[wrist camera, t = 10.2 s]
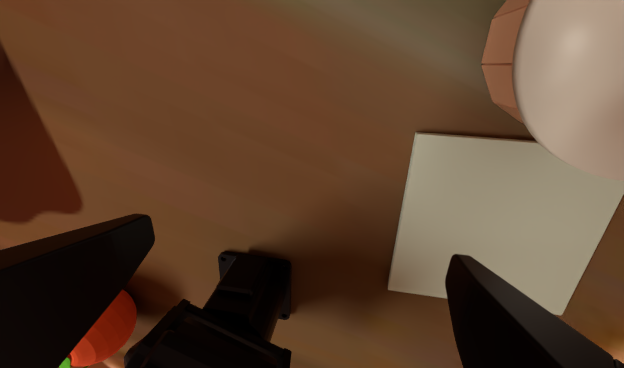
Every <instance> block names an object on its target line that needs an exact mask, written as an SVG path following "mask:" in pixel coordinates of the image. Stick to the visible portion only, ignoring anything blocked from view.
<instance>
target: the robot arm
mask: <svg viewBox="0 0 624 368" xmlns="http://www.w3.org/2000/svg"><path fill="white" fill-rule="evenodd" d="M154 241H155V235H154V231H153V226H152V221H151V218H150V217H149V216H148V215H144V214H132V215H128V216H124V217H121V218H117V219H113V220H110V221H106V222H102V223H98V224H95V225H91V226H87V227H84V228H80V229H76V230H73V231H69V232H65V233H61V234H58V235H54V236H50V237H47V238H43V239H39V240H36V241H32V242H28V243H24V244H21V245H17V246H13V247H10V248H6V249H2V250H0V368H58V367H59V366H60V365H61V364H62V362H63V361H64V360H65V359H66V358H67V356H68V355H69V354H70V353H71V352H72V350H73V349H74V348H75V347H76V345H77V344H78V343H79V342H80V341H81V339H82V338H83V337H84V336H85V335H86V333H87V332H88V331H89V330H90V328H91V327H92V326H93V325H94V324H95V322H96V321H97V320H98V319H99V318H100V316H101V315H102V314H103V313H104V311H105V310H106V309H107V308H108V307H109V305H110V304H111V303H112V302H113V301H114V299H115V298H116V297H117V296H118V295H119V293H120V292H121V291H122V289H123V288H124V287H125V286H126V284H127V283H128V281H129V280H130V279H131V277H132V276H133V274H134V273H135V271H136V270H137V268H138V267H139V265H140V264H141V262H142V261H143V260H144V258H145V257H146V255H147V254H148V252H149V251H150V249H151V248H152V246H153V244H154ZM223 257H225V258H226V259H225V258H223ZM218 262H219V272H220V281H219V283H218V285H217V286H216V289H215V290H214V292H213V293H212V295H211V296H210V298H209V299H208V301H207V303H206V304H205V306H204V307H203V309H201V308H199V307H197V306H194V305H192V304H190V301H187V300H185V299H183V300H182V301H181V302H180V303H179V304H178V305H177V306H174V307H173V308H172V309H171V310H170V311H168V313H167V314H166V315H165V316H164V317H163V318H162V320H161V321H160V322H159V323H158V324H157V325H156V326H155V327H154V328H153V329H152V330H151V331H150V332H149V333H148V334H147V335H146V336H145V337H144V338H143V339H141V340H140V341H139V342H138V343H136V344H135V345H134V346H132V347H131V348H130V349H129V350H128V352H127V353H126V355H125V356H124V367H125V368H290V360H291V351H290V350H288V349H286V348H284V349H282V348H280V347H278V346H276V345H274V344H272V343H270V341H271V338H272V335H273V332H274V329H275V326H276V323H277V320H278V319H283V320H287V319H289V317H290V312H291V263H290V262H289V261H287V260H281V259H274V258H267V257H260V256H252V255H245V254H238V253H231V252H221V254H220V255H219V256H218ZM283 265H285V266H287V267H284V266H283ZM445 288H446V293H447V299H448V304H449V310H450V315H451V321H452V326H453V332H454V336H455V341H456V344H457V348H458V352H459V355H460V358H461V361H462V365H463V368H624V364H623V363H622V362H620V361H619V360H617V359H614V360H613V357H612V355H610V354H609V353H607V352H606V351H605V350H603V349H602V348H600V347H599V346H597V345H596V344H595V343H593V342H592V341H590V340H589V339H588V338H586V337H585V336H583V335H582V334H580V333H579V332H578V331H576V330H575V329H573V328H572V327H571V326H569V325H568V324H566V323H565V322H563V321H562V320H561V319H559V318H558V317H556V316H555V315H553V314H552V313H551V312H549V311H548V310H546V309H545V308H544V307H542V306H541V305H539V304H538V303H536V302H535V301H534V300H532V299H531V298H529V297H528V296H527V295H525V294H524V293H522V292H521V291H519V290H518V289H517V288H515V287H514V286H512V285H511V284H509V283H508V282H507V281H505V280H504V279H502V278H501V277H500V276H498V275H497V274H495V273H494V272H492V271H491V270H490V269H488V268H487V267H485V266H484V265H483V264H481V263H480V262H478V261H477V260H475V259H474V258H473V257H471V256H469V255H462V254H454V255H452V257H451V260H450V263H449V267H448V270H447V274H446V278H445Z"/></svg>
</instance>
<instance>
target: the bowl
mask: <svg viewBox="0 0 624 368" xmlns="http://www.w3.org/2000/svg"><path fill="white" fill-rule="evenodd" d="M529 1H530V0H507V1H506V2H505V3H504V4H503V6H502V7H501V8H500V9H499V11H498V12H497V13H496V14H495V16H494V19H492V22H491V26H490V30H489V34H488V38H487V42H486V46H485V50H484V54H483V58H482V62H481V63H484V64H483V65H481V66H482V70H483V73H484V76H485V79H486V83H487V86H488V89H489V92H490V95H491V99H492V101H494V102H493V103H495V104H496V105H497V106H499V107H500V108H502V109H503V110H504V111H506V112H507V113H508V114H510V115H511V116H513V117H514V118H515V119H517V120H518V121H519V122H521V123H522V124H524V122H523V121H522V119H521V116H520V114H519V111H518V108H517V106H516V102H515V97H514V92H513V84H512V62H513V52H514V47H515V42H516V37H517V33H518V30H519V27H520V24H521V21H522V18H523V15H524V12H525V10H526V8H527V6H528V3H529Z"/></svg>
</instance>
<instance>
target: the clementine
mask: <svg viewBox="0 0 624 368" xmlns="http://www.w3.org/2000/svg"><path fill="white" fill-rule="evenodd" d="M136 318H137V309H136V305H135V303H134V301H133V299H132V297H131V296H130V295H129V294H128V293H127V292H126V291H125V290H123V289H122V291H121V292H120V293H119V295H118V296H117V297H116V298H115V299H114V301H113V302H112V303H111V304H110V305H109V307H108V308H107V309H106V310H105V311H104V313H103V314H102V315H101V316H100V318H99V319H98V320H97V321H96V322H95V324H94V325H93V326H92V327H91V328H90V330H89V331H88V332H87V333H86V335H85V336H84V337H83V338H82V339H81V341H80V342H79V343H78V344H77V345H76V347H75V348H74V349H73V350H72V352H71V353H70V354H69V355H68V356H67V358H66V359H65V360H64V361H63V362H62V364H61V365H60V366H59V368H71V367H70V366H85V367H84V368H87V367H88V366H89V365H92V364H95V363H98V362H101V361H103V360H105V359H107V358H108V357H110V356H112V355H113V354H115V353H116V352H117V351H118V350H119V349H120V348H121V347H122V346H123V345H125V343H126V342H127V340H128V339H129V337H130V336H131V334H132V332H133V330H134V327H135V324H136Z"/></svg>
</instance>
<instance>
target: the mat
mask: <svg viewBox="0 0 624 368" xmlns="http://www.w3.org/2000/svg"><path fill="white" fill-rule="evenodd" d="M623 194H624V181H620V180H613V179H608V178H604V177H600V176H596V175H592V174H590V173H588V172H585V171H583V170H580V169H578V168H576V167H574V166H572V165H569V164H567V163H565V162H564V161H562V160H560V159H559V158H557V157H555V156H554V155H552V154H550V153H549V152H548V151H547V150H546V149H544V148H543V147H542V146H541V145H540V144H539V143H538V142H537V141H529V140H516V139H502V138H489V137H476V136H462V135H449V134H436V133H422V132H416V133H415V138H414V143H413V149H412V154H411V160H410V165H409V171H408V176H407V181H406V187H405V192H404V198H403V203H402V209H401V214H400V219H399V225H398V230H397V236H396V241H395V247H394V252H393V257H392V263H391V268H390V274H389V279H388V290H392V291H399V292H405V293H412V294H419V295H426V296H433V297H440V298H447V293H446V288H445V278H446V274H447V270H448V267H449V263H450V260H451V257H452V255H454V254H462V255H469V256H471V257H473V258H474V259H475V260H477V261H478V262H480V263H481V264H483V265H484V266H485V267H487V268H488V269H490V270H491V271H492V272H494V273H495V274H497V275H498V276H500V277H501V278H502V279H504V280H505V281H507V282H508V283H509V284H511V285H512V286H514V287H515V288H517V289H518V290H519V291H521V292H522V293H524V294H525V295H527V296H528V297H529V298H531V299H532V300H534V301H535V302H536V303H538V304H539V305H541V306H542V307H544V308H545V309H546V310H548V311H549V312H551V313H552V314H556V315H562V314H563V312H564V310H565V308H566V306H567V304H568V302H569V300H570V298H571V296H572V294H573V292H574V290H575V288H576V286H577V284H578V282H579V281H580V279H581V277H582V275H583V273H584V271H585V269H586V267H587V265H588V263H589V261H590V259H591V257H592V255H593V253H594V251H595V249H596V247H597V245H598V243H599V241H600V239H601V238H602V236H603V234H604V232H605V230H606V228H607V226H608V224H609V222H610V220H611V218H612V216H613V214H614V212H615V210H616V208H617V206H618V204H619V202H620V200H621V198H622V196H623Z"/></svg>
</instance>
